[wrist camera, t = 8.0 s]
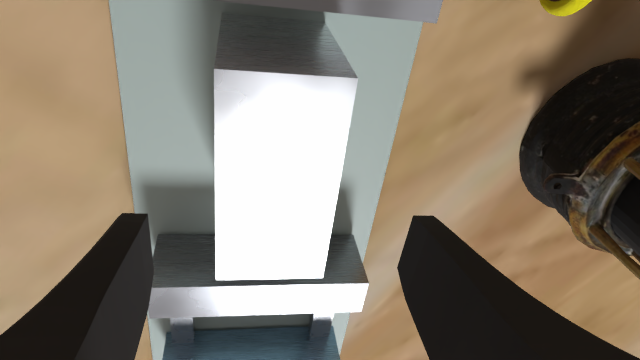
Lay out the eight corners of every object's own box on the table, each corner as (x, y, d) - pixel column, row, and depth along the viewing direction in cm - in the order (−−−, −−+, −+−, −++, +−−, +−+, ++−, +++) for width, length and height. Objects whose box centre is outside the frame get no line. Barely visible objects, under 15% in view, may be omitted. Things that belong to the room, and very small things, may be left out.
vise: (156, 363, 29) (145, 431, 26) (102, -103, 15) (59, -97, 11) (335, 354, 31) (347, 414, 28) (434, -57, 17) (484, -40, 14)
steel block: (221, 186, 21) (215, 280, 16) (221, 12, 17) (213, 68, 12) (304, 187, 22) (322, 277, 17) (325, 22, 18) (358, 78, 13)
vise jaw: (168, 347, 27) (159, 404, 24) (157, 234, 22) (145, 288, 19) (329, 340, 29) (339, 391, 26) (353, 234, 24) (369, 283, 21)
